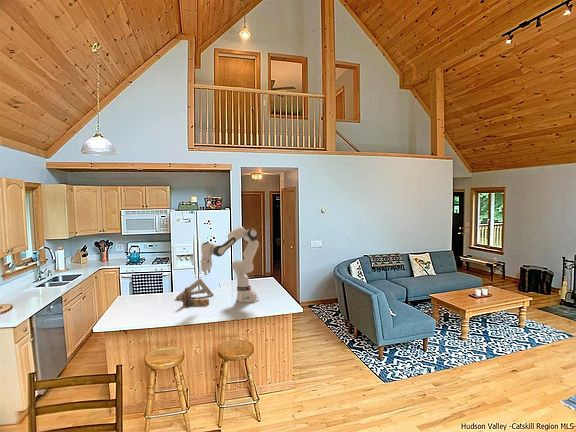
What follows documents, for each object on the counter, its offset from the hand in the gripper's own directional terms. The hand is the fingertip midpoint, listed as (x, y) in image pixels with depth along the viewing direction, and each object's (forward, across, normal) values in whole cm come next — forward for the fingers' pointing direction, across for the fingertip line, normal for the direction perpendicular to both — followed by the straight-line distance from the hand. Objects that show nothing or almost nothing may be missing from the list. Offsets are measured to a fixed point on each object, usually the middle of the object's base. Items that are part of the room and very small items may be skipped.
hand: (207, 273), depth 312 cm
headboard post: (+29, +1, -19) cm, 35 cm away
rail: (+30, +1, -9) cm, 31 cm away
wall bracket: (+30, -22, -22) cm, 44 cm away
